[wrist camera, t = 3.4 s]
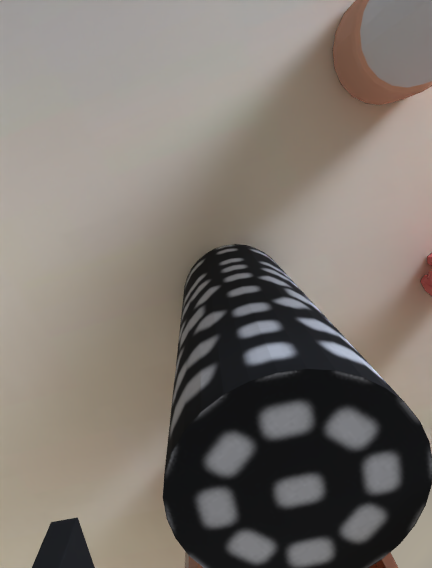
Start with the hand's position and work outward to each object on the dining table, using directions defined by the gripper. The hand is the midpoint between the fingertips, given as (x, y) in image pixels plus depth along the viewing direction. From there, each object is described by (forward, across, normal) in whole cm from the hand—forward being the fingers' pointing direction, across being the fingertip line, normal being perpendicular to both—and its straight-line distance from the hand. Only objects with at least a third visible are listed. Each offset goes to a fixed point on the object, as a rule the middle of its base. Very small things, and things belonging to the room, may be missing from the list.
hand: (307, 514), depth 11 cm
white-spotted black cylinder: (+21, 0, 0) cm, 21 cm away
